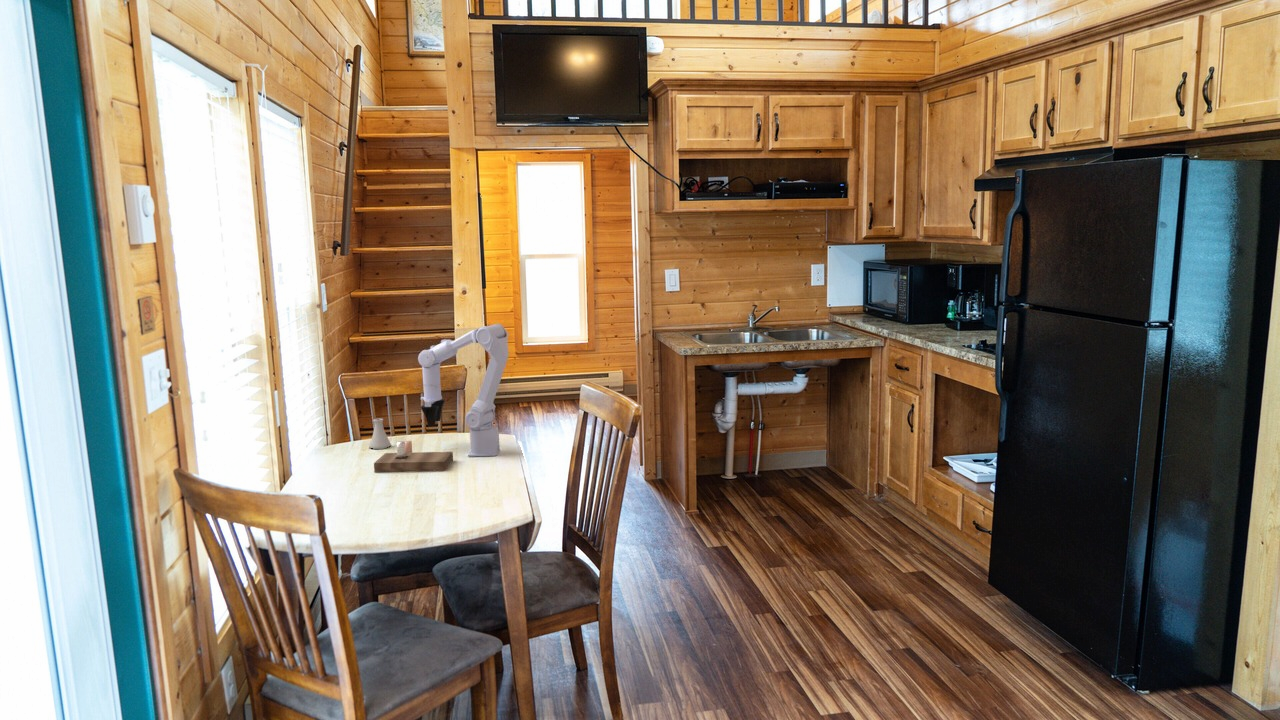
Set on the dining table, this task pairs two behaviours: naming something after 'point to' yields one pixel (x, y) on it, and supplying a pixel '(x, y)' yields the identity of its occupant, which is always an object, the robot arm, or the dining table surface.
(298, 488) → the dining table surface
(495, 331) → the robot arm
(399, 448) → the tall pin
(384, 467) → the hole board
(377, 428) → the flask
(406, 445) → the short pin
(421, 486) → the dining table surface
